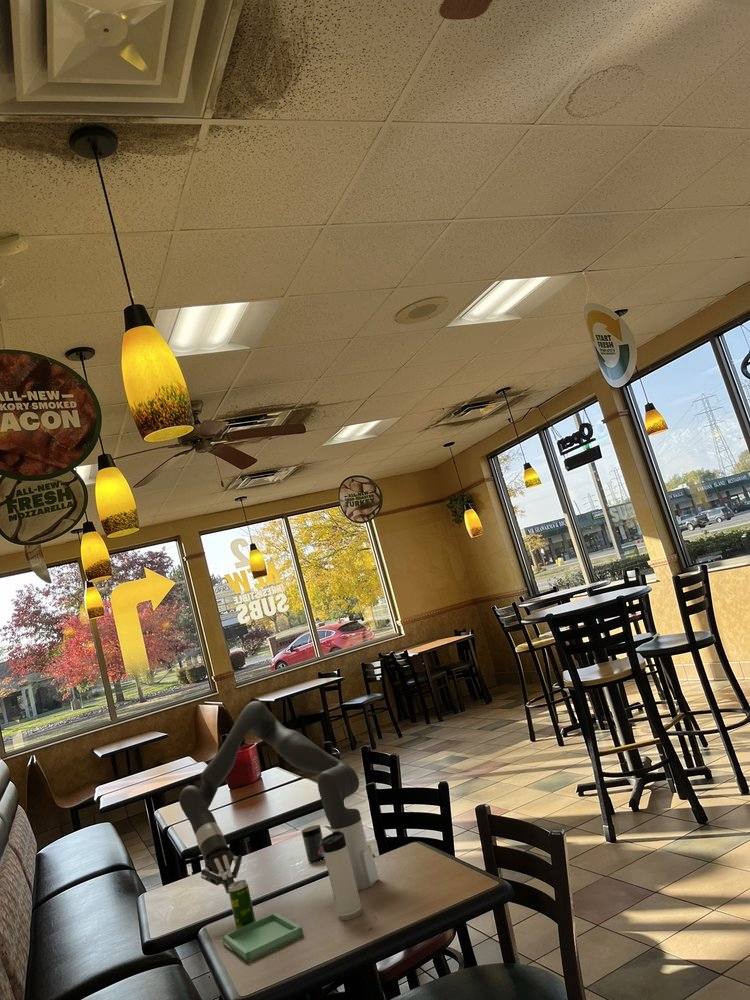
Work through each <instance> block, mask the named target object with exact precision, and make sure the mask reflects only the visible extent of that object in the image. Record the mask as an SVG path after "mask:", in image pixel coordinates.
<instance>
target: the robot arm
mask: <svg viewBox="0 0 750 1000" xmlns="http://www.w3.org/2000/svg"><path fill="white" fill-rule="evenodd" d="M248 732H249V733H251V734H252V735H253V736H255V737H256V738H258V739H259V740H262V741H263V742H265V743H267V744H269V745H270V746H271V747H272V748H273V749H274V750H275V752H276V753H277V754H278V755H279V756H280V757H281V758H282V759H284V760H285V761H286V762H287V763H288V764H290V765H291V766H293V767H294V768H295V769H299V770H302V771H306V772H310V773H315V774H319V775H318V778H317V789H318V793H319V798H320V800H321V804H322V807H323V810H324V815H325V817H326V819H327V821H328V823H329V827H330V831H331V834H332V833H333V832H335V831H340V832H343V833H344V837H345V842H346V845H347V849H348V853H349V857H350V861H351V865H352V870H353V874H354V878H355V882H356V886H357V890H358V891H362V890H365V889H367V888H372V887H373V885H375V884H376V882H377V881H378V880H379V879H378V878H379V874H378V871H377V866H376V862H375V858H374V854H373V849H372V846H371V845H370V844H368V841H367V837H366V833H365V830H364V829H365V828H364V824H363V820H362V816H361V812H360V810H359V809H358V808H348V807H346V806H345V804H344V801H343V799H345V798H349V797H350V796H352V795H353V794H355V793H356V792H357V791H358V790H359V789H360V780H359V777H358V774H357V772H356V771H355V769H353V768H352V767H351V765H349V764H348V763H346V762H344V761H343V760H340V759H338V758H337V757H335V756H333V755H332V754H329V753H328V752H326V750H324V749H323V748H321V747H319V746H318V745H317V744H315V743H314V742H313V741H311V740H310V739H309V738H307V737H306V736H305V735H303V734H302V733H301V732H299V731H297V730H294V729H290V728H288V727H286V726H284V725H283V724H282V723H281V722H280V721H279V720H278V719H277V718H276V716H275V715H274V714H273V713H272V712H271V710H269V708H268V707H267V706H266V705H265V704H264V703H263V702H262V701H259V700H254V701H251V702H249V703H248V704H247V705H246V706H245V707H244V708H243V709H242V711H241V712H240V714H239V715H238V717H237V719H236V721H235V722H234V724H233V726H232V728H231V729H230V732H229V733H228V735H227V737H226V738H225V740H224V741H223V743H222V745H221V746H220V748H219V750H218V751H217V752H216V754H215V756H214V757H212V759H211V760H210V762H209V763H208V764H207V766H206V767H205V768H204V769H203V771H202V772H201V774H200V779H201V783H202V784H201V785H200V788H199V787H197V786H196V785H192V784H191V785H187V786H185V787H183V789H181V791H180V793H179V797H178V803H179V806H180V808H181V810H182V811H183V813H184V815H185V817H186V818H187V820H188V822H189V823H190V825H191V828H192V830H193V833H194V836H195V838H196V843H197V845H198V848H199V851H200V853H201V855H202V858H203V860H204V863H205V864H204V868H203V869H201V872H200V878H201V879H202V880H205V881H207V882H208V883H211V884H212V885H215V886H219V885H222V886H223V888H224V890H225V892H226V894H227V895H229V891H228V890H229V885H230V884H232V883H234V882H235V879H237V878H238V874H239V871H240V868H241V864H242V863H243V862H242V861H243V855H241V854H238V856H237V855H234V853H233V852H232V851H231V850H230V848H229V845H228V843H227V841H226V839H225V836H224V834H223V832H222V830H221V828H220V827H219V825H218V823H217V820H216V818H215V816H214V814H213V812H212V811H211V810H210V806H211V805H212V802H213V800H214V798H215V796H216V794H217V792H218V790H219V787H220V785H221V784H222V783H223V782H224V781H225V779H226V778H227V777H228V775H229V774H230V773H231V771H232V770H233V768H234V765H235V763H236V759H237V756H238V753H239V750H240V747H241V744H242V742H243V740H244V738H245V737H246V736H247V734H248ZM232 864H234V866H233V869H232V870H231V867H232Z"/></svg>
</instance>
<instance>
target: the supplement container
mask: <svg viewBox="0 0 750 1000" xmlns="http://www.w3.org/2000/svg"><path fill="white" fill-rule="evenodd" d="M301 837H302V840H303V844H304V849H305V853H306V857H307V861H308V863H310V862H311V863H310V864H315V863H314V862H317V861H320V860H322V861H324V860H325V859H324V858H325V856H324V851H323V846H322V842H321V841H322V839H323V838H324V836H323V832H322V828H321V825H320V824H314V825H311V826H308V827H305V828H304V829H302V830H301ZM323 859H324V860H323ZM320 862H321V861H320ZM317 863H318V862H317Z"/></svg>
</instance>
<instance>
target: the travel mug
mask: <svg viewBox="0 0 750 1000" xmlns="http://www.w3.org/2000/svg"><path fill="white" fill-rule="evenodd" d="M321 842H322V846H323V851H324V856H325V859H324V860H325V864H326V868H327V873H328V876H329V881H330V887H331V890H332V894H333V898H334V902H335V907H336V911H337V915H338V919H339V920H340V921H350V920H353V919H355V918H358V917H359V916H360V915H362V913H363V908H362V905H361V900H360V895H359V890H357V886H356V882H355V878H354V874H353V870H352V865H351V861H350V857H349V853H348V849H347V845H346V842H345V837H344V833H343V832H340V831H335V832H333V833H332V832H331V833H330V834H328V835H326V836H324V837H323V839H322V841H321Z"/></svg>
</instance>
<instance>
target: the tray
mask: <svg viewBox="0 0 750 1000" xmlns="http://www.w3.org/2000/svg"><path fill="white" fill-rule="evenodd" d="M255 920H256V921H254V922H252V923H250V924H247V925H245V926H243V927H241V928H238V929H236V928H235V929H234V930H231V931H230V932H227V933H226V934H223V935H221V937H222V941H224V942H225V943H226V944H227V945H228V946H229V947H230V948H231V949H232V950H233V951H234V952H235V953H236V954H235V953H234V952H233V951H232V950H231V951H232V952H233V953H234V954H235V955H236V956H238V957H239V958H240V959H241V960H243V961H244V962H245V963H247V964H249V963H251V962H253V961H255V960H257V959H259V958H261V957H263V956H265V955H268V954H270V953H272V952H274V951H276V950H278V949H280V948H282V947H284V946H287V945H288V944H290V943H293V942H295V941H297V940H299V939H301V938H303V937H305V935H304V930H303V927H302V926H301V925H299V924H298V923H296V922H294V921H292V920H291V919H288V918H286V917H284V916H282V915H281V914H279V913H277V912H275V911H274V912H272V913H270V914H268V915H266V916H263V917H261V918H259V919H255ZM224 942H223V943H224Z"/></svg>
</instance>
